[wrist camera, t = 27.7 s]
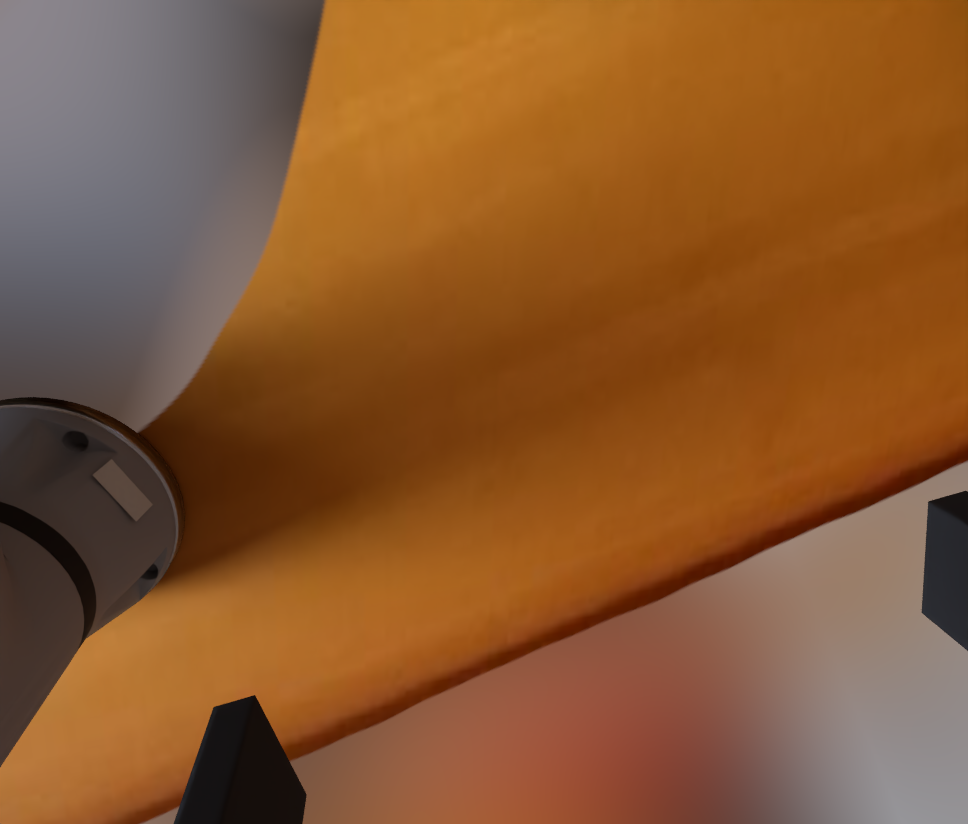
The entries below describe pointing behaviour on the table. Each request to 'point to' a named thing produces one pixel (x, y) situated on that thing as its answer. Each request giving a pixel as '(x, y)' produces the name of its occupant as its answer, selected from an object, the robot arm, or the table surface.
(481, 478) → the table surface
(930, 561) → the robot arm
